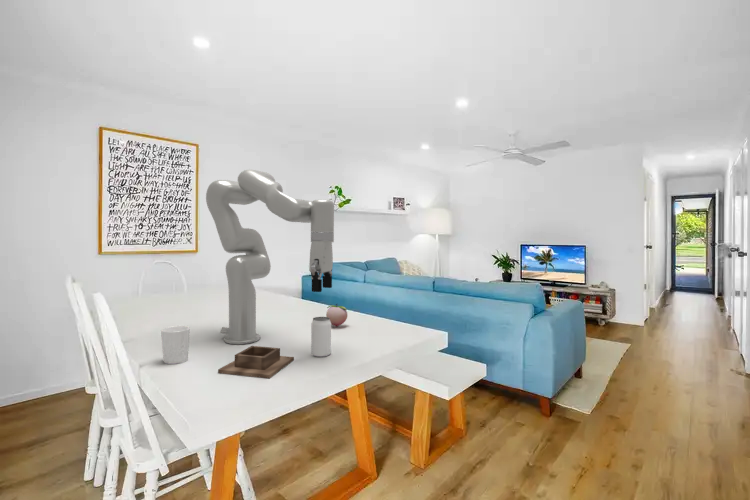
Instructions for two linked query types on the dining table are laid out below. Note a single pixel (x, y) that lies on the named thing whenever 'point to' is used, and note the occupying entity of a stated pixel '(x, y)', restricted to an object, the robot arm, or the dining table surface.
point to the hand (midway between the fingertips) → (322, 289)
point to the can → (321, 337)
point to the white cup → (175, 344)
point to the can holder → (257, 362)
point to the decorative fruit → (336, 314)
